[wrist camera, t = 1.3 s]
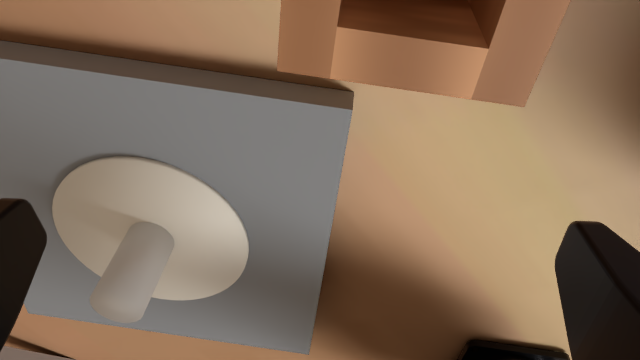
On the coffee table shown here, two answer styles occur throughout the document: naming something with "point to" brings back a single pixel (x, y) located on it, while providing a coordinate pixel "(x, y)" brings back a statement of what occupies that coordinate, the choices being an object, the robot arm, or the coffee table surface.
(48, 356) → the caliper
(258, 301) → the post board
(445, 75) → the collar
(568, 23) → the coffee table surface
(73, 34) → the coffee table surface
